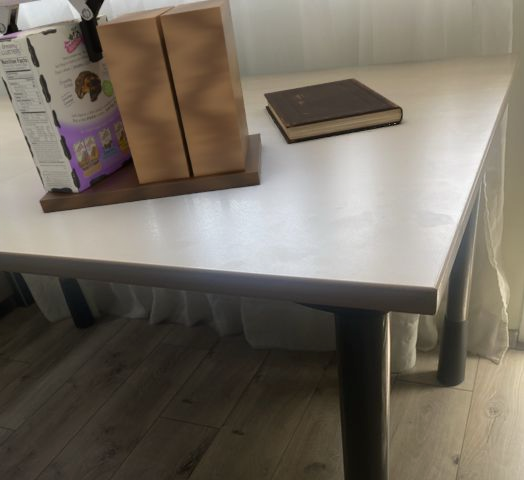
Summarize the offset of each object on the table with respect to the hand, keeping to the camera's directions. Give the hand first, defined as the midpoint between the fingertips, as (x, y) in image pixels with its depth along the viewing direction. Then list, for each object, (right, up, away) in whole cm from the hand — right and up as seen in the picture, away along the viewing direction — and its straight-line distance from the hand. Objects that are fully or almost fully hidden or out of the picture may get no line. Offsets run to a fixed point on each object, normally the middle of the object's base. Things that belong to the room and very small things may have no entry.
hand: (62, 65), depth 61 cm
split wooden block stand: (+10, -10, +8) cm, 16 cm away
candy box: (+2, -10, +8) cm, 13 cm away
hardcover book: (+33, +3, +21) cm, 39 cm away
